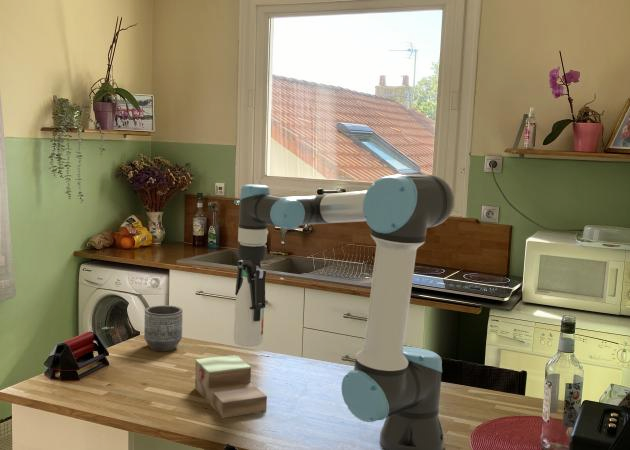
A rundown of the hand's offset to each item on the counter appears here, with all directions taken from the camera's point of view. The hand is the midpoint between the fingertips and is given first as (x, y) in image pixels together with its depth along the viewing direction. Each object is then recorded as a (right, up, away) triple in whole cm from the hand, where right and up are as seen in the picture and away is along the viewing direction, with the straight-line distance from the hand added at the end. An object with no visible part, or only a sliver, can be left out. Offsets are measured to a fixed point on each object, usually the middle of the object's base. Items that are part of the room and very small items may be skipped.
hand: (248, 327), depth 188 cm
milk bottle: (0, -4, +1) cm, 4 cm away
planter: (-32, -13, +44) cm, 56 cm away
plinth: (-5, -20, +2) cm, 21 cm away
